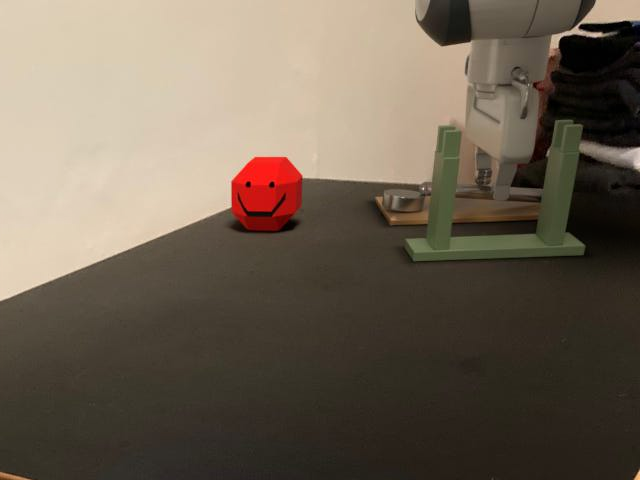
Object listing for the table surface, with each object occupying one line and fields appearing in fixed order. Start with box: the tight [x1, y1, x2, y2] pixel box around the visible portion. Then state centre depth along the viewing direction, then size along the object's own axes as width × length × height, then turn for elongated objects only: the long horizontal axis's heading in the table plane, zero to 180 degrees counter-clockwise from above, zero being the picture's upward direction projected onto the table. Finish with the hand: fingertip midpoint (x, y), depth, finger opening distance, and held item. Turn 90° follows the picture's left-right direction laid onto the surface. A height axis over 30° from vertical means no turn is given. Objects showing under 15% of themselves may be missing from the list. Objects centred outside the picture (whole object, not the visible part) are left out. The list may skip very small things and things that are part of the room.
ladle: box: [382, 181, 543, 212], centre depth 123 cm, size 22×5×3 cm, turn 87°
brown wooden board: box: [374, 196, 541, 226], centre depth 125 cm, size 20×14×1 cm
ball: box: [230, 156, 304, 232], centre depth 120 cm, size 8×8×8 cm
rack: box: [404, 119, 586, 263], centre depth 104 cm, size 18×6×12 cm, turn 87°
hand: (490, 191), depth 123 cm, fingers open, 8 cm apart
